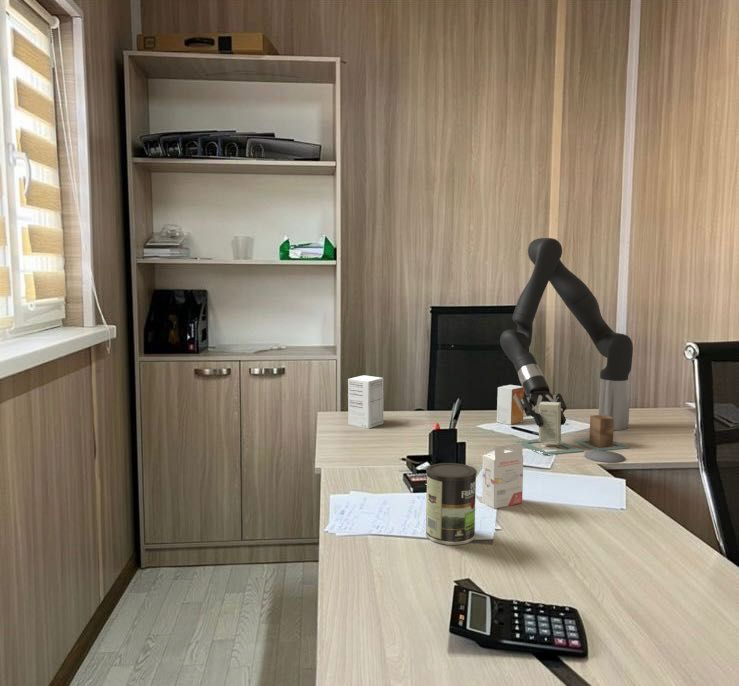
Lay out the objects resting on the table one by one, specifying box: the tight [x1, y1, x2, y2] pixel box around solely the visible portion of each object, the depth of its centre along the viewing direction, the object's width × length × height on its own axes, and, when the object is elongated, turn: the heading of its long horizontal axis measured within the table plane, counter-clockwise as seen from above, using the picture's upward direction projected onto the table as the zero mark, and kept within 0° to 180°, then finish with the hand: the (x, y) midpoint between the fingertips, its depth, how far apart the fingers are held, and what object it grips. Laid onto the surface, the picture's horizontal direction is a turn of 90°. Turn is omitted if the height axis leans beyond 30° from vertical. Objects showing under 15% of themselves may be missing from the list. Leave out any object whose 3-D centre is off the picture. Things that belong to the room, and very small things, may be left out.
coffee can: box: [425, 462, 477, 546], centre depth 139 cm, size 10×10×14 cm
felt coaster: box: [584, 450, 625, 464], centre depth 198 cm, size 11×11×1 cm
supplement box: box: [347, 375, 384, 430], centre depth 237 cm, size 10×9×17 cm
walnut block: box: [588, 414, 615, 448], centre depth 211 cm, size 5×5×9 cm
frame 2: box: [572, 438, 631, 451], centre depth 211 cm, size 12×12×1 cm
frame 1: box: [515, 438, 585, 456], centre depth 209 cm, size 14×16×1 cm
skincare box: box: [538, 402, 562, 444], centre depth 208 cm, size 6×4×12 cm
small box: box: [496, 384, 525, 426], centre depth 242 cm, size 8×6×13 cm
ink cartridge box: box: [481, 442, 524, 509], centre depth 158 cm, size 9×5×15 cm, turn 118°
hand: (552, 424), depth 207 cm, fingers closed on skincare box, 7 cm apart
